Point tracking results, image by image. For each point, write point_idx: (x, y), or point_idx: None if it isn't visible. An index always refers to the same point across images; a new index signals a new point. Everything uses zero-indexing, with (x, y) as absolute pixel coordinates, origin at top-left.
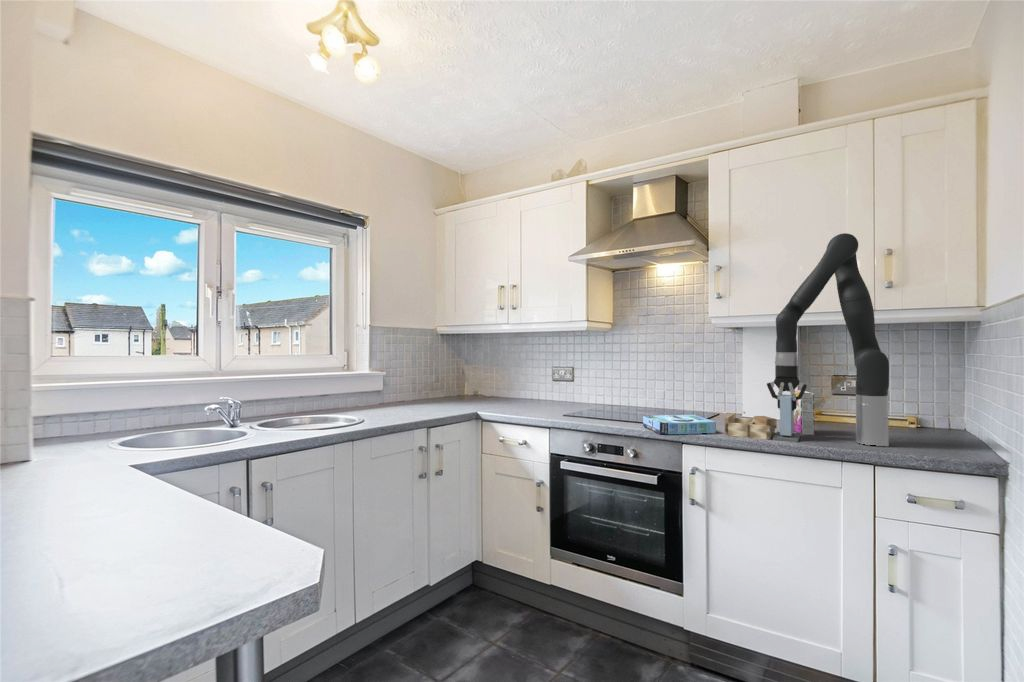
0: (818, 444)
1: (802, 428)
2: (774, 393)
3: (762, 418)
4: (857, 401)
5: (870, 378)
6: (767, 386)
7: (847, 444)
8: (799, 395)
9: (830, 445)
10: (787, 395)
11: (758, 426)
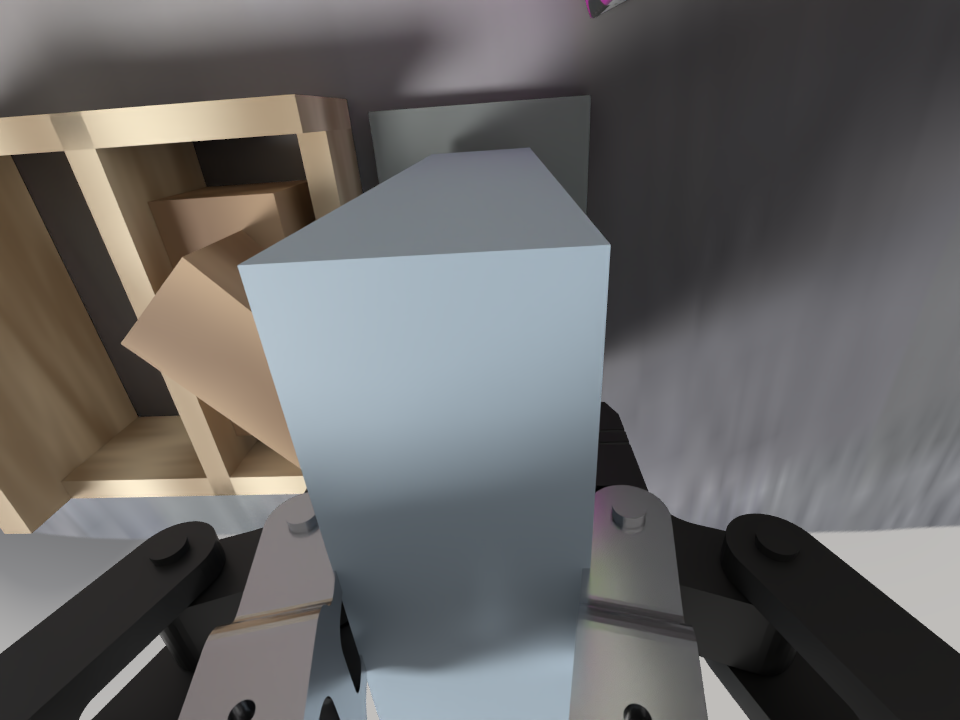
0: (704, 415)
1: (615, 2)
2: (141, 633)
3: (267, 442)
4: None
5: None
6: None
7: (920, 309)
8: (763, 709)
9: (778, 409)
10: (457, 539)
11: (302, 487)
